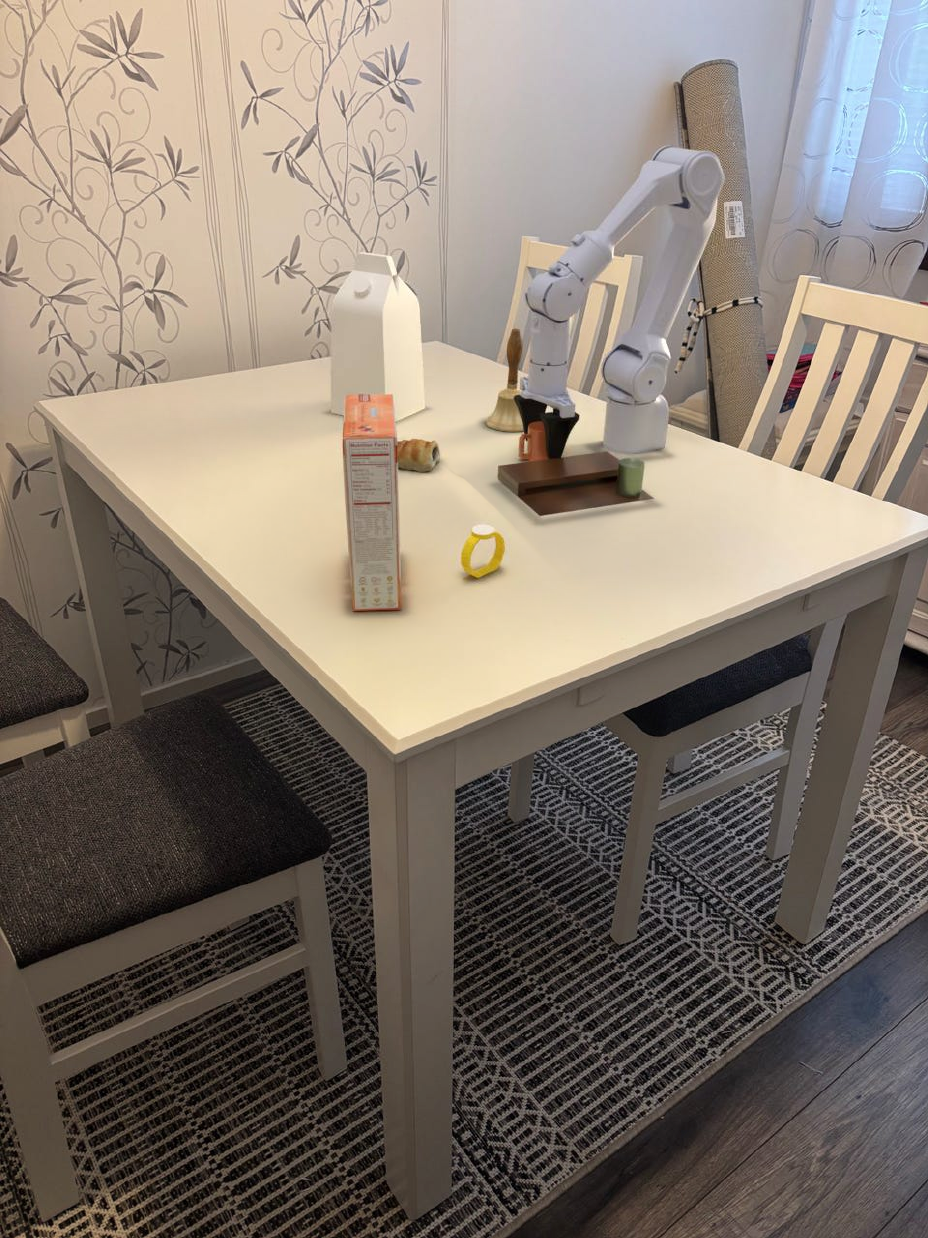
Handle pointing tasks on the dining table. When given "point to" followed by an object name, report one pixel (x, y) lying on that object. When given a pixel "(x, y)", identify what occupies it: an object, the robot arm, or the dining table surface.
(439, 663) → the dining table surface
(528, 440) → the jug
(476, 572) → the watch
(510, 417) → the hand bell
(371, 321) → the milk
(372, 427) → the cracker box
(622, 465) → the tin
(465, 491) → the dining table surface
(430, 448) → the pastry
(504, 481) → the step shelf
